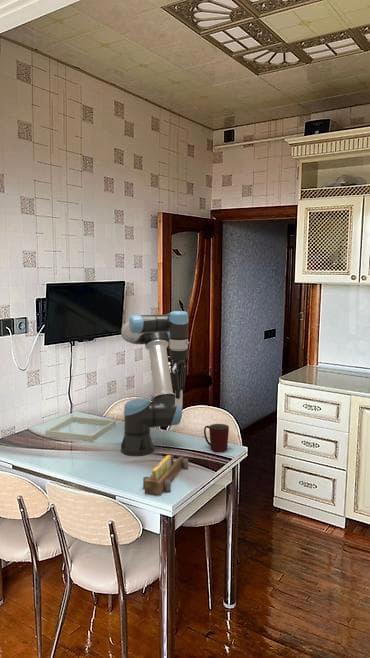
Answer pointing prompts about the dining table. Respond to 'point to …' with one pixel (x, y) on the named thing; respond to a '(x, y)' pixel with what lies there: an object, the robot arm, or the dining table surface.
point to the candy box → (161, 468)
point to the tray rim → (54, 433)
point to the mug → (217, 437)
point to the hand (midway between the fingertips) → (178, 405)
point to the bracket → (165, 478)
